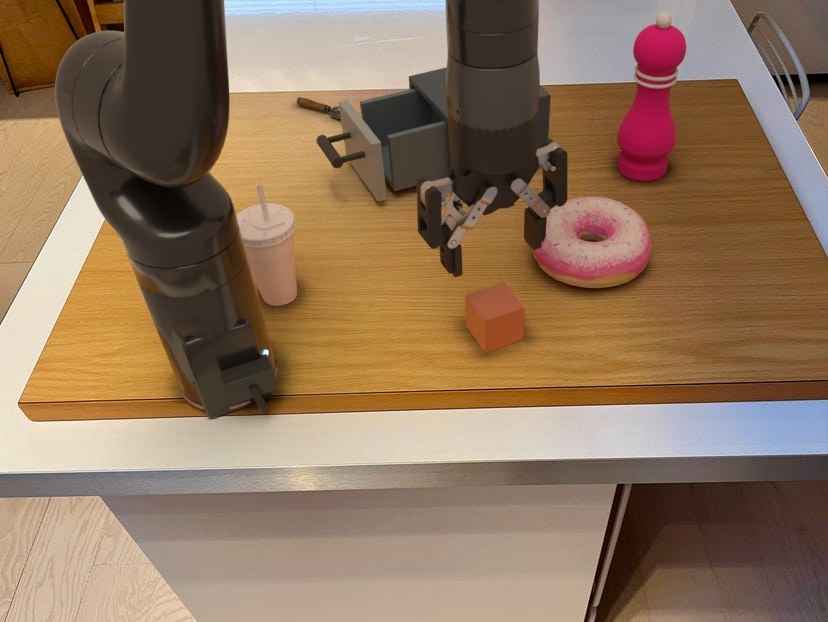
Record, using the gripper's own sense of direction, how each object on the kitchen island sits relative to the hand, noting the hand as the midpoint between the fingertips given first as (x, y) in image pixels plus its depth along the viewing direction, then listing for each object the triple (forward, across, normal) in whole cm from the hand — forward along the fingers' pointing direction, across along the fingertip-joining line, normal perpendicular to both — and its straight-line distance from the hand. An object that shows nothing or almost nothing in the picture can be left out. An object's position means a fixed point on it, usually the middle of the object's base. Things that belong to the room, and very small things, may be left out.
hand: (494, 258), depth 78 cm
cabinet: (+10, +14, +31) cm, 35 cm away
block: (+9, 0, -1) cm, 9 cm away
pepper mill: (+10, +31, +17) cm, 37 cm away
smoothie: (+9, -18, +16) cm, 26 cm away
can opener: (+10, 0, +51) cm, 52 cm away
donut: (+9, +15, +5) cm, 18 cm away
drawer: (+8, +2, +31) cm, 32 cm away
